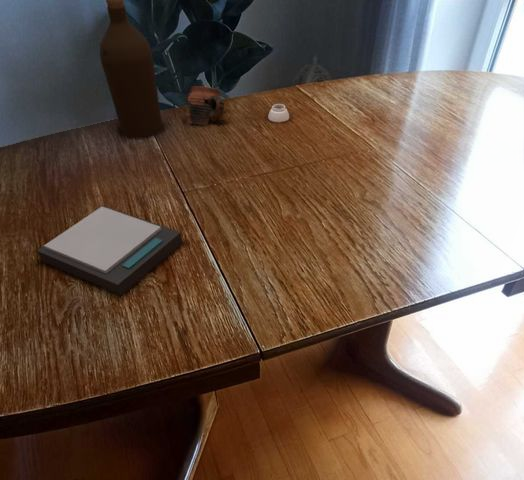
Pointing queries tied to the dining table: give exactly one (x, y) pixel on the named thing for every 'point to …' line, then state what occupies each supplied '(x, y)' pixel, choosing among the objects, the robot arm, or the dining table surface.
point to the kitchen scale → (111, 249)
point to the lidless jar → (278, 113)
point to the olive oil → (130, 75)
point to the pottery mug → (204, 105)
